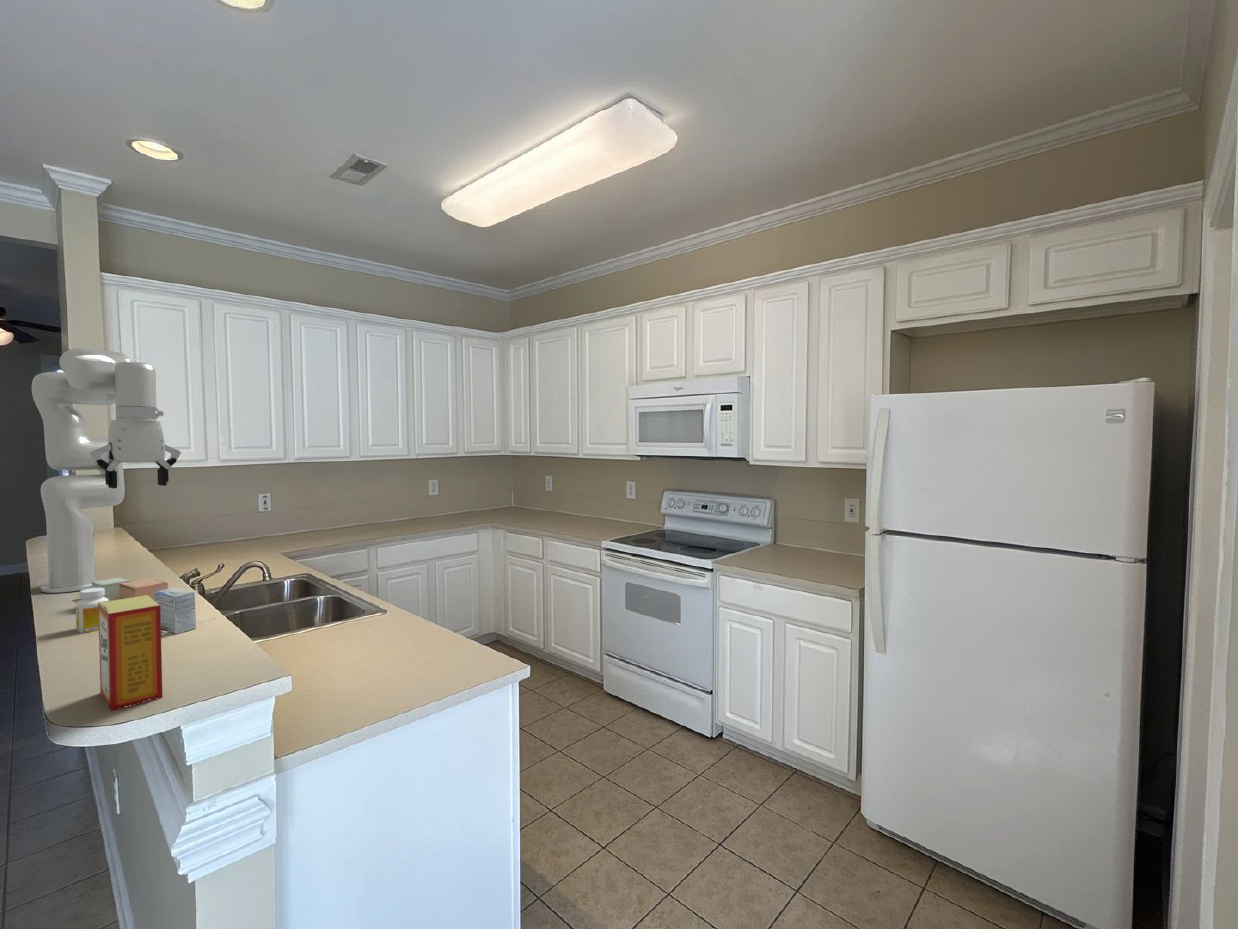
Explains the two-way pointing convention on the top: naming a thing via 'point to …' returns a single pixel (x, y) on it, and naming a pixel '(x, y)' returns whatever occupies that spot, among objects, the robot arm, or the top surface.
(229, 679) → the top surface
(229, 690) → the top surface
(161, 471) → the robot arm
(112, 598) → the sage green box
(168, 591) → the medicine box
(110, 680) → the baking soda box
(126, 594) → the terracotta box
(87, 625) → the supplement bottle
